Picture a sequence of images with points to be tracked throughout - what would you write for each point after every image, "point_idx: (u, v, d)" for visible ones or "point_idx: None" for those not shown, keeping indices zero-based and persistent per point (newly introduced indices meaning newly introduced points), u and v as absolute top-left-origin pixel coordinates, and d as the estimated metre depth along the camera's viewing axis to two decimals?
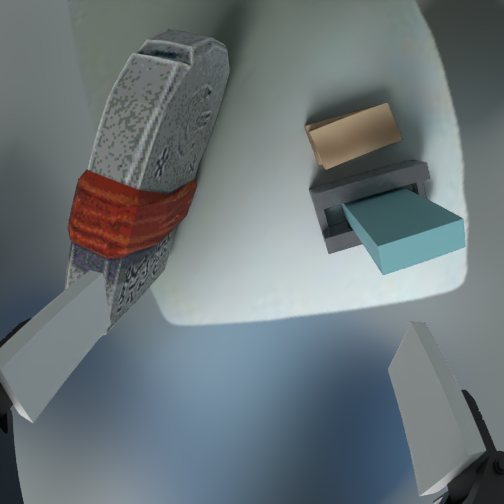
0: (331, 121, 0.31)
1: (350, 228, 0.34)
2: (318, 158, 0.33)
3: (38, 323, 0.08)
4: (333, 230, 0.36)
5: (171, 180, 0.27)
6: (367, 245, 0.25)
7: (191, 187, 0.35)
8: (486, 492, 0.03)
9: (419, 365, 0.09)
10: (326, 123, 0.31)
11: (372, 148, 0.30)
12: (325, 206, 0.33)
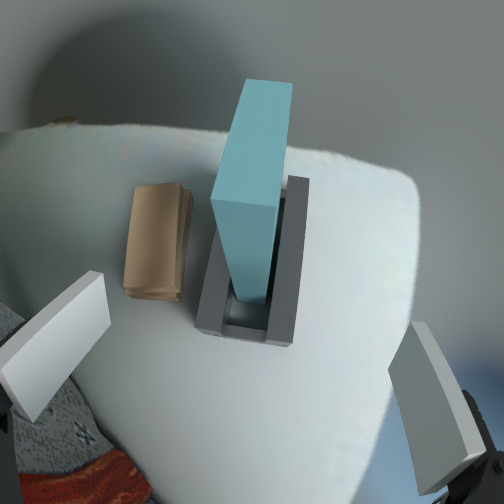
0: None
1: None
2: (166, 294, 0.25)
3: (38, 323, 0.08)
4: None
5: (50, 457, 0.12)
6: (254, 251, 0.15)
7: (113, 457, 0.18)
8: (486, 492, 0.03)
9: (419, 365, 0.09)
10: None
11: (174, 219, 0.25)
12: (219, 316, 0.22)
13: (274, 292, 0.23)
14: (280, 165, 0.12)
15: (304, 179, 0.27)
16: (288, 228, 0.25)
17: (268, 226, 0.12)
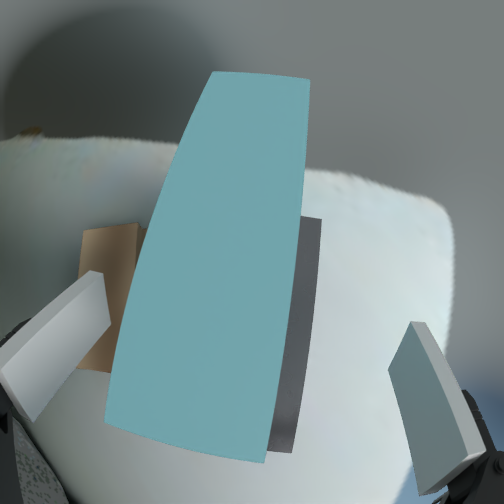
0: None
1: None
2: None
3: (38, 323, 0.08)
4: None
5: None
6: None
7: None
8: (486, 492, 0.03)
9: (419, 365, 0.09)
10: None
11: (131, 277, 0.18)
12: None
13: None
14: (281, 333, 0.04)
15: (314, 221, 0.19)
16: (291, 297, 0.17)
17: None
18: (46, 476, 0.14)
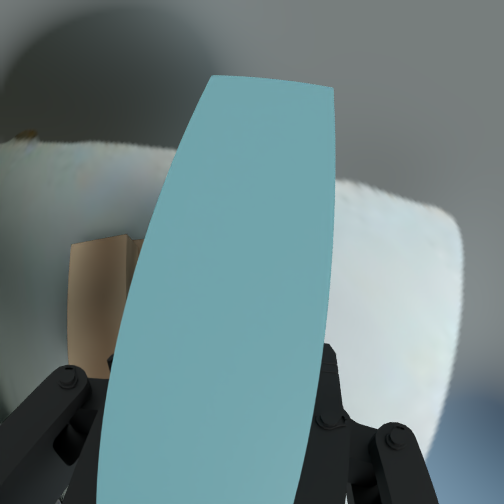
0: None
1: None
2: None
3: None
4: None
5: None
6: None
7: None
8: (312, 454, 0.05)
9: None
10: None
11: (122, 293, 0.17)
12: None
13: None
14: (301, 441, 0.03)
15: None
16: None
17: None
18: None
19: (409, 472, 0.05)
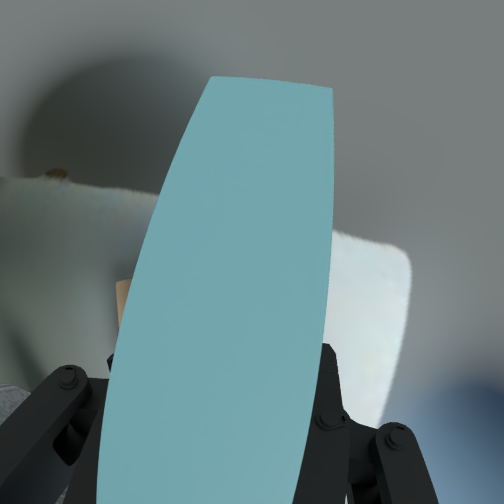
0: None
1: None
2: None
3: None
4: None
5: None
6: None
7: None
8: (312, 454, 0.05)
9: None
10: None
11: None
12: None
13: None
14: (300, 441, 0.03)
15: None
16: None
17: None
18: None
19: (409, 472, 0.05)
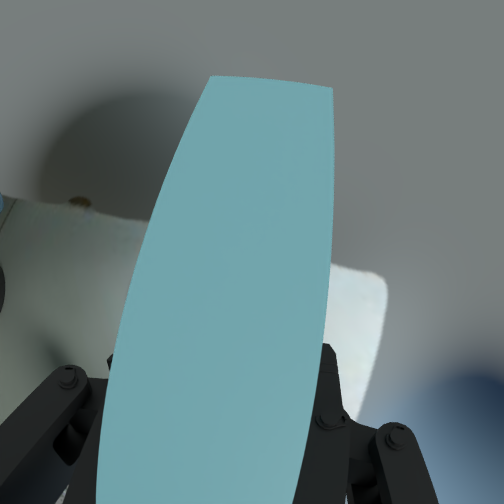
0: None
1: None
2: None
3: None
4: None
5: None
6: None
7: None
8: (312, 453, 0.05)
9: None
10: None
11: None
12: None
13: None
14: (300, 441, 0.03)
15: None
16: None
17: None
18: None
19: (409, 472, 0.05)
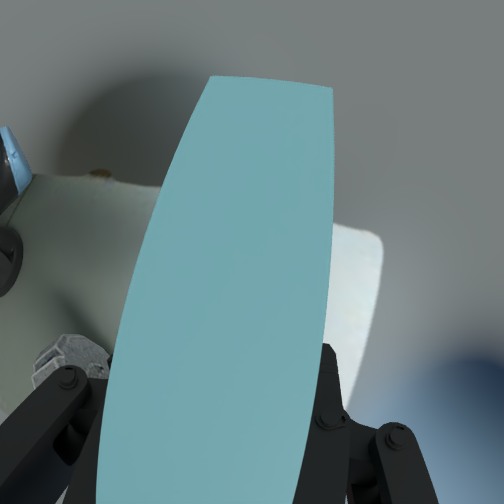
0: None
1: None
2: None
3: None
4: None
5: None
6: None
7: None
8: (312, 453, 0.05)
9: None
10: None
11: None
12: None
13: None
14: (300, 441, 0.03)
15: None
16: None
17: None
18: None
19: (409, 472, 0.05)
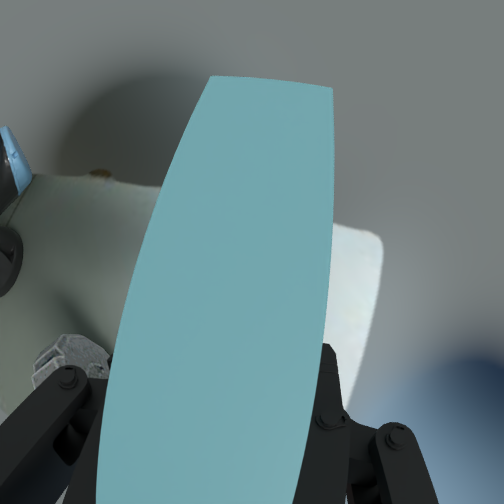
0: None
1: None
2: None
3: None
4: None
5: None
6: None
7: None
8: (312, 453, 0.05)
9: None
10: None
11: None
12: None
13: None
14: (300, 441, 0.03)
15: None
16: None
17: None
18: None
19: (409, 472, 0.05)
